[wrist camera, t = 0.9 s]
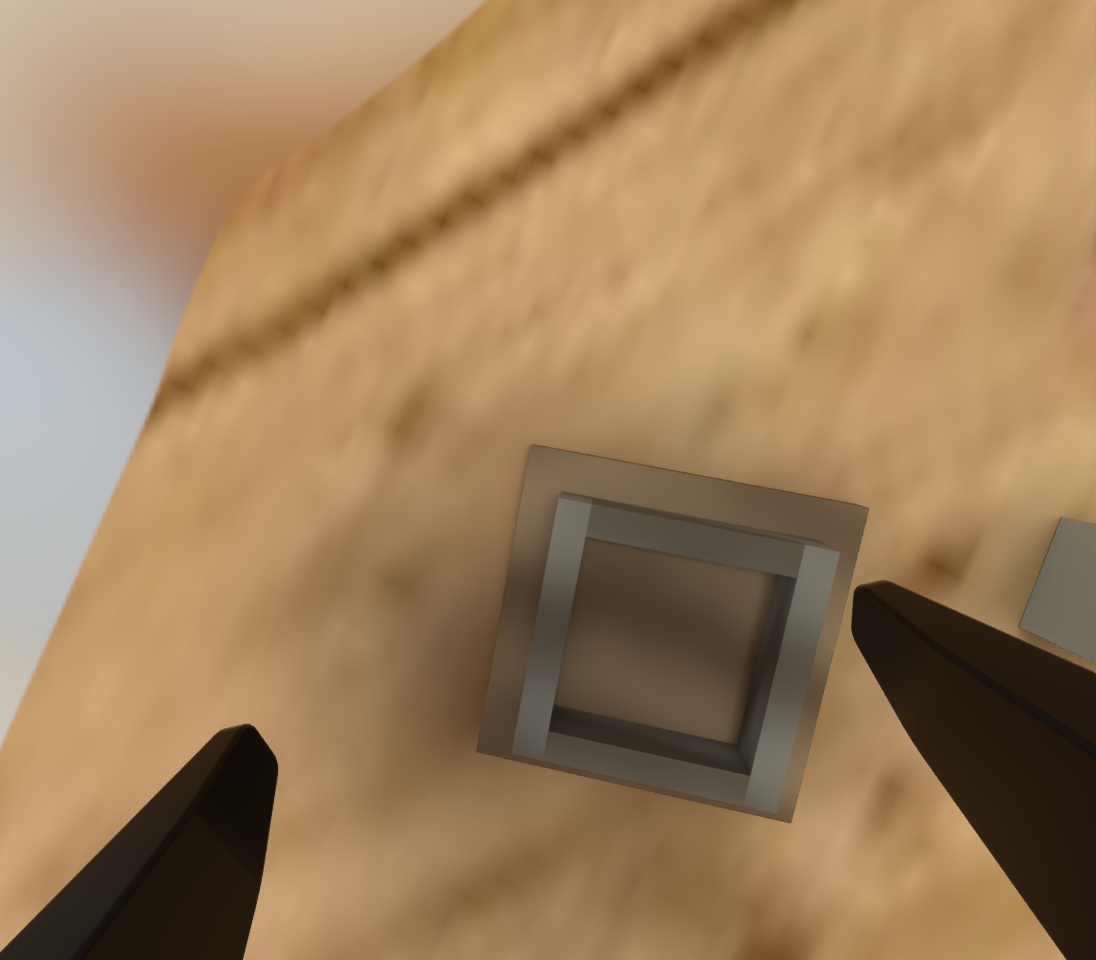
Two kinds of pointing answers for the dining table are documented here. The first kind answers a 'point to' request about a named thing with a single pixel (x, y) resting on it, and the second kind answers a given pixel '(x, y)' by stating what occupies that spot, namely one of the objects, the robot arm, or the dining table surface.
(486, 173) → the dining table surface
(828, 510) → the jig
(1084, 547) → the block
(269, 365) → the dining table surface
